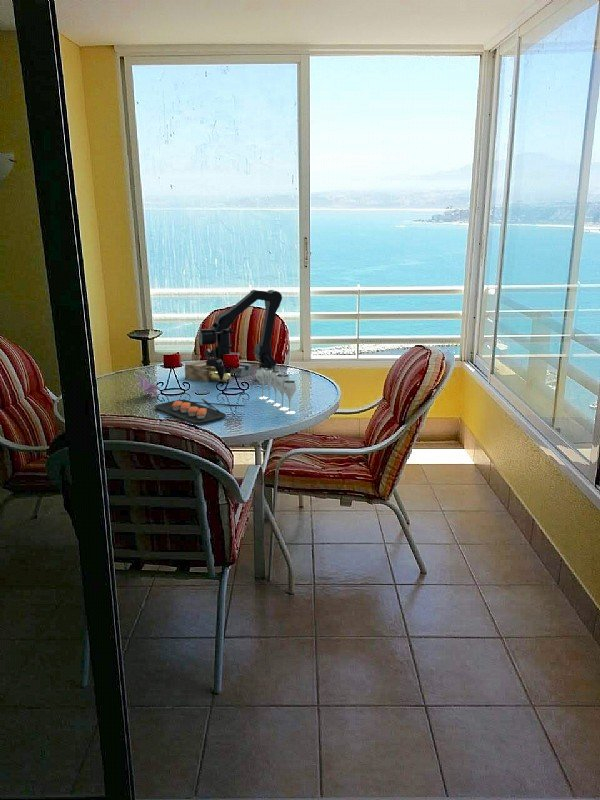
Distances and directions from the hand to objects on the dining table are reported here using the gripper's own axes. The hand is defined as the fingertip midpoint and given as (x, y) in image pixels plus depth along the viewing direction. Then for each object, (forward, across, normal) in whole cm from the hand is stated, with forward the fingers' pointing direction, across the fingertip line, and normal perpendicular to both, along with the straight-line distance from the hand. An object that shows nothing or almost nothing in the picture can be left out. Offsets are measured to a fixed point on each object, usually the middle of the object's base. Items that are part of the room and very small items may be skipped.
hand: (224, 378), depth 279 cm
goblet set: (+2, +19, +38) cm, 42 cm away
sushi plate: (+2, +38, +18) cm, 42 cm away
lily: (+2, +37, -12) cm, 39 cm away
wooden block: (+2, 0, -12) cm, 13 cm away
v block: (+2, -16, -6) cm, 17 cm away
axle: (0, 0, -6) cm, 6 cm away
